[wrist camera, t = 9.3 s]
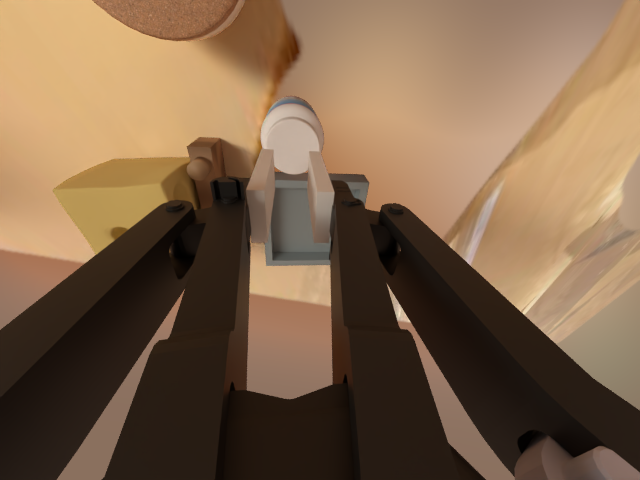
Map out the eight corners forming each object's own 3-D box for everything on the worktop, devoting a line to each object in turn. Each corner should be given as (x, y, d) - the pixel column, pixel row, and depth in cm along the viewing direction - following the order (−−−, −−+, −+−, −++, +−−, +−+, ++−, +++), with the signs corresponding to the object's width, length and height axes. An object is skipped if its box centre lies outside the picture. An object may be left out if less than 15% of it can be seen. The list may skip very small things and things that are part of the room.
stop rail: (199, 137, 30) (180, 151, 25) (220, 138, 30) (205, 152, 25) (216, 222, 37) (204, 248, 31) (233, 222, 37) (223, 247, 32)
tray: (262, 171, 33) (259, 179, 31) (363, 174, 35) (369, 182, 32) (267, 253, 41) (266, 265, 38) (350, 253, 42) (353, 264, 40)
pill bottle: (256, 117, 29) (240, 139, 20) (297, 83, 28) (300, 90, 19) (287, 159, 32) (286, 194, 23) (326, 130, 31) (341, 156, 22)
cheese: (217, 223, 37) (195, 267, 29) (141, 226, 36) (97, 273, 28) (197, 152, 31) (163, 182, 23) (106, 154, 30) (37, 186, 22)
